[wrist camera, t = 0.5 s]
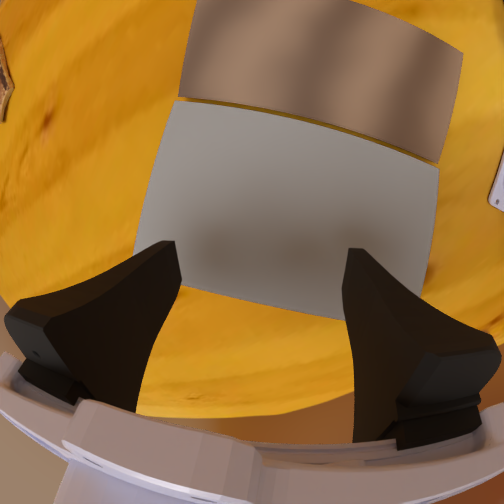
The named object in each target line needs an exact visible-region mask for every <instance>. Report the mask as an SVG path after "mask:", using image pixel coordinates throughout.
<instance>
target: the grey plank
mask: <svg viewBox="0 0 504 504" xmlns="http://www.w3.org/2000/svg"><path fill="white" fill-rule="evenodd" d="M438 183H439V169H438V168H436V167H434V166H432V165H429V164H427V163H425V162H423V161H420V160H418V159H416V158H413V157H411V156H408V155H406V154H403V153H401V152H398V151H396V150H393V149H391V148H388V147H385V146H382V145H380V144H377V143H374V142H371V141H368V140H365V139H362V138H359V137H356V136H353V135H350V134H347V133H344V132H340V131H337V130H334V129H330V128H327V127H323V126H319V125H316V124H312V123H308V122H304V121H300V120H296V119H291V118H287V117H283V116H278V115H273V114H268V113H263V112H258V111H252V110H247V109H241V108H234V107H228V106H221V105H213V104H205V103H196V102H186V101H175V102H174V105H173V107H172V110H171V113H170V116H169V119H168V121H167V124H166V127H165V130H164V133H163V137H162V140H161V143H160V146H159V149H158V153H157V156H156V159H155V163H154V166H153V170H152V173H151V177H150V181H149V185H148V188H147V192H146V196H145V200H144V205H143V209H142V213H141V218H140V222H139V227H138V232H137V236H136V241H135V247H134V252H133V256H134V255H136V254H137V253H139V252H141V251H142V250H144V249H146V248H148V247H149V246H151V245H153V244H155V243H157V242H159V241H162V240H167V241H175V245H176V250H177V256H178V261H179V266H180V271H181V276H182V282H181V285H184V286H188V287H192V288H196V289H200V290H204V291H208V292H212V293H216V294H220V295H225V296H229V297H233V298H237V299H242V300H246V301H250V302H255V303H259V304H264V305H268V306H273V307H278V308H283V309H287V310H292V311H297V312H302V313H307V314H312V315H317V316H323V317H328V318H333V319H339V320H344V321H346V320H345V316H344V311H343V302H342V290H341V288H342V283H343V277H344V272H345V266H346V261H347V255H348V249H349V248H363V249H364V250H366V251H367V252H368V253H369V254H370V255H371V256H372V257H373V258H374V259H375V260H376V261H377V262H379V263H380V264H381V265H382V266H383V267H384V268H385V269H386V270H387V271H388V272H389V273H390V274H391V275H392V276H394V277H395V278H396V279H397V280H398V281H399V282H400V283H402V284H403V285H404V286H405V287H406V288H408V289H409V290H410V291H411V292H413V293H414V294H415V295H417V296H418V297H419V298H420V295H421V291H422V287H423V283H424V278H425V274H426V269H427V264H428V259H429V254H430V248H431V243H432V236H433V230H434V223H435V215H436V206H437V196H438Z"/></svg>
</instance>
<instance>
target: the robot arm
mask: <svg viewBox="0 0 504 504" xmlns="http://www.w3.org/2000/svg"><path fill="white" fill-rule="evenodd" d="M496 200H497V202H496ZM488 201H489V203H490V204H491V205H492V206H494V207H496V208H498V209H499V210H501V211H503V212H504V153H503V156H502V160H501V163H500V166H499V169H498V173H497V176H496V178H495V181H494V184H493V187H492V190H491V192H490V195H489V198H488ZM181 282H182V276H181V271H180V266H179V261H178V256H177V250H176V245H175V241H167V240H162V241H159V242H157V243H155V244H153V245H151V246H149V247H148V248H146V249H144V250H142V251H141V252H139V253H137V254H136V255H134V256H132V257H131V258H129V259H127V260H125V261H124V262H122V263H120V264H118V265H116V266H115V267H113V268H111V269H109V270H107V271H106V272H104V273H102V274H100V275H97V276H95V277H93V278H91V279H89V280H86V281H84V282H81V283H79V284H76V285H74V286H71V287H68V288H65V289H62V290H59V291H56V292H52V293H49V294H45V295H41V296H36V297H31V298H25V299H20V300H19V301H18V302H16V304H15V305H14V306H13V307H12V308H11V309H10V310H9V312H8V313H7V314H6V315H5V317H4V322H5V326H6V328H7V330H8V332H9V334H10V336H11V337H12V338H13V340H14V341H15V343H16V345H17V346H18V347H19V349H20V350H21V351H22V353H23V354H24V356H25V357H26V360H25V361H24V362H23V363H22V362H21V361H20V360H19V359H18V358H16V357H15V356H13V355H11V354H9V353H8V352H5V351H4V353H3V354H2V356H1V357H0V413H1V414H2V415H3V416H4V417H5V418H6V419H7V420H9V421H10V422H11V423H12V424H13V425H14V426H16V427H17V428H18V429H20V430H21V431H22V432H24V433H25V434H26V435H28V436H29V437H30V438H32V439H33V440H35V441H36V442H37V443H39V444H40V445H42V446H43V447H45V448H46V449H48V450H49V451H51V452H52V453H54V454H55V455H57V456H59V457H60V458H62V459H63V460H65V461H67V462H68V463H69V465H68V467H67V470H66V472H65V475H64V477H63V479H62V482H61V484H60V487H59V489H58V492H57V495H56V497H55V500H54V503H53V504H431V503H434V502H437V501H440V500H442V499H445V498H448V497H450V496H453V495H456V494H458V493H461V492H463V491H466V490H468V489H470V488H473V487H475V486H477V485H479V484H481V483H483V482H485V481H487V480H489V479H490V478H492V477H494V476H496V475H498V474H500V473H501V472H503V471H504V402H502V403H499V404H496V405H494V406H491V407H488V408H486V409H484V410H482V411H481V412H479V410H478V407H477V405H478V404H480V402H481V398H480V395H479V392H480V391H481V389H482V388H483V387H484V386H485V385H486V384H487V383H488V381H489V380H490V379H491V378H492V377H493V375H494V374H495V372H496V371H497V369H498V367H499V365H500V363H501V357H502V355H501V353H500V351H499V349H498V347H497V345H496V343H495V341H494V339H493V337H492V335H490V334H487V333H485V332H482V331H480V330H477V329H475V328H472V327H470V326H467V325H465V324H463V323H461V322H459V321H457V320H455V319H453V318H451V317H450V316H448V315H446V314H444V313H442V312H441V311H439V310H438V309H436V308H434V307H433V306H431V305H429V304H428V303H426V302H425V301H424V300H422V299H421V298H419V297H418V296H417V295H415V294H414V293H413V292H411V291H410V290H409V289H408V288H406V287H405V286H404V285H403V284H402V283H400V282H399V281H398V280H397V279H396V278H395V277H394V276H392V275H391V274H390V273H389V272H388V271H387V270H386V269H385V268H384V267H383V266H382V265H381V264H380V263H379V262H377V261H376V260H375V259H374V258H373V257H372V256H371V255H370V254H369V253H368V252H367V251H366V250H364V249H363V248H349V249H348V255H347V261H346V266H345V272H344V277H343V283H342V288H341V290H342V302H343V311H344V316H345V320H346V325H347V330H348V335H349V340H350V345H351V350H352V356H353V366H354V394H355V395H354V396H355V404H354V430H353V442H352V443H348V444H322V445H321V444H319V445H304V444H277V443H264V442H253V441H244V440H239V439H237V438H234V437H232V436H227V435H223V434H219V433H215V432H211V431H207V430H202V429H196V428H192V427H187V426H182V425H177V424H173V423H169V422H165V421H161V420H157V419H153V418H150V417H146V416H143V415H139V414H136V413H135V412H136V406H137V401H138V396H139V392H140V388H141V383H142V379H143V376H144V372H145V369H146V365H147V362H148V359H149V356H150V353H151V350H152V347H153V344H154V342H155V340H156V338H157V335H158V333H159V331H160V329H161V327H162V325H163V323H164V321H165V320H166V318H167V316H168V314H169V312H170V310H171V308H172V306H173V304H174V302H175V300H176V297H177V294H178V292H179V289H180V285H181Z"/></svg>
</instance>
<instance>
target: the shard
mask: <svg viewBox="0 0 504 504" xmlns="http://www.w3.org/2000/svg"><path fill="white" fill-rule="evenodd" d="M13 89H14V84H13V83H12V81H11V79H10V77H9V75H8V70H7V64H6V59H5V54H4V49H3V44H2V42H1V38H0V124H1V123H2V122H3V117H4V110H5V107H6V104H7V102H8V100H9V97H10V95H11V93H12V91H13Z"/></svg>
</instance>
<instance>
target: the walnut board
mask: <svg viewBox="0 0 504 504" xmlns="http://www.w3.org/2000/svg"><path fill="white" fill-rule="evenodd" d="M462 60H463V53H462V52H460V51H459V50H457V49H456V48H454V47H452V46H451V45H449V44H447V43H446V42H444V41H442V40H440V39H439V38H437V37H435V36H433V35H431V34H429V33H428V32H426V31H424V30H422V29H420V28H418V27H416V26H414V25H412V24H409V23H407V22H405V21H403V20H401V19H398V18H396V17H394V16H391V15H389V14H386V13H384V12H381V11H379V10H376V9H373V8H371V7H368V6H365V5H362V4H359V3H356V2H353V1H350V0H197V4H196V8H195V12H194V16H193V20H192V24H191V29H190V33H189V38H188V43H187V48H186V53H185V58H184V64H183V69H182V75H181V81H180V87H179V94H178V97H189V98H199V99H208V100H216V101H224V102H231V103H237V104H244V105H250V106H255V107H261V108H266V109H271V110H276V111H281V112H285V113H290V114H294V115H298V116H302V117H306V118H310V119H314V120H318V121H322V122H325V123H329V124H332V125H336V126H339V127H342V128H346V129H349V130H352V131H355V132H358V133H361V134H364V135H367V136H370V137H373V138H376V139H378V140H381V141H384V142H387V143H389V144H392V145H394V146H397V147H400V148H402V149H405V150H407V151H409V152H412V153H414V154H417V155H419V156H421V157H423V158H426V159H428V160H430V161H432V162H434V163H437V164H438V161H439V158H440V155H441V152H442V149H443V145H444V142H445V139H446V135H447V131H448V128H449V124H450V120H451V116H452V112H453V108H454V103H455V99H456V94H457V89H458V84H459V78H460V73H461V66H462Z"/></svg>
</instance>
